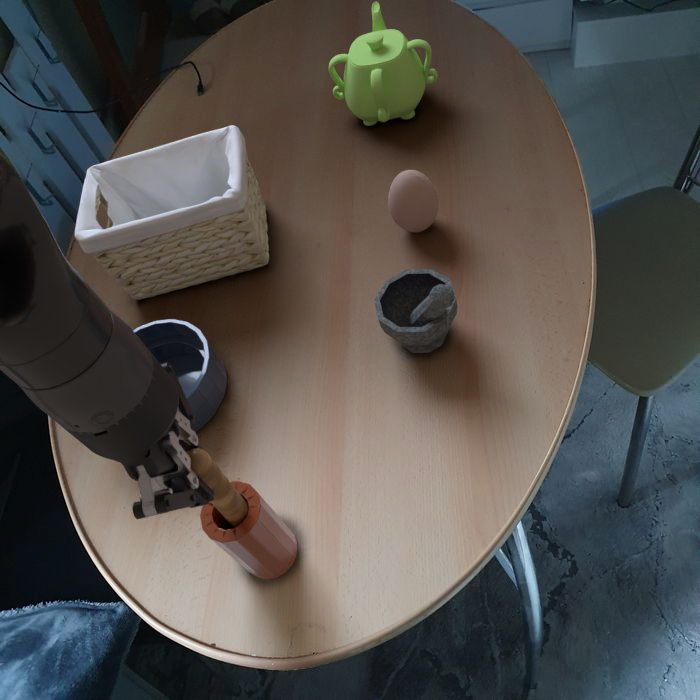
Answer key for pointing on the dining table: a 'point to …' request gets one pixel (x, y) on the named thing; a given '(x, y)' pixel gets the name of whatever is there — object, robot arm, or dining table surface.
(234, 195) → the basket
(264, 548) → the crock
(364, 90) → the teapot
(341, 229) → the dining table surface
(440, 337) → the mortar and pestle
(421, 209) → the egg
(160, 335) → the bowl
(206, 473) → the stick
